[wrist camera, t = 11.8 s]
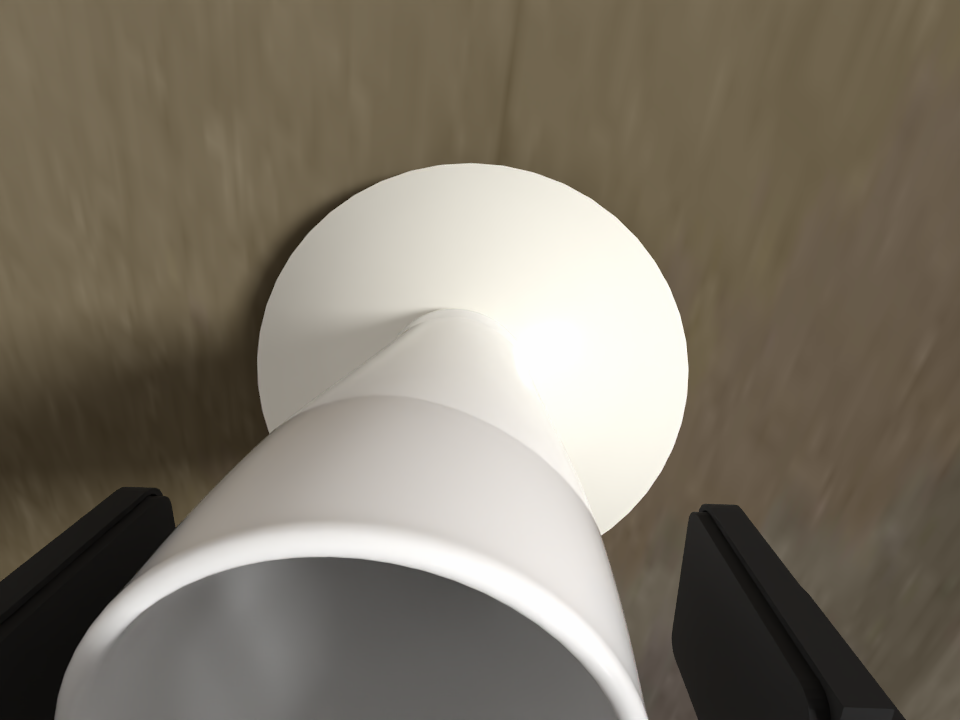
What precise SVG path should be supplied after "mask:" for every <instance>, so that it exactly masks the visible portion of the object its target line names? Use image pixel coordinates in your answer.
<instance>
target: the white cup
mask: <svg viewBox="0 0 960 720" xmlns="http://www.w3.org/2000/svg"><path fill="white" fill-rule="evenodd" d="M54 720H649V719H648V716H647V712H646V708H645V704H644V699H643V695H642V690H641V686H640V681H639V677H638V672H637V667H636V663H635V658H634V654H633V649H632V645H631V641H630V636H629V632H628V628H627V624H626V620H625V616H624V611H623V608H622V604H621V600H620V596H619V593H618V589H617V585H616V582H615V578H614V575H613V571H612V568H611V564H610V561H609V558H608V555H607V552H606V549H605V546H604V543H603V539H602V537H601V534H600V531H599V528H598V525H597V522H596V519H595V516H594V514H593V511H592V508H591V505H590V503H589V500H588V498H587V495H586V493H585V490H584V488H583V486H582V483H581V481H580V479H579V477H578V475H577V472H576V470H575V468H574V466H573V464H572V462H571V459H570V457H569V455H568V453H567V451H566V449H565V447H564V445H563V443H562V441H561V438H560V436H559V434H558V432H557V430H556V428H555V426H554V424H553V422H552V420H551V418H550V416H549V414H548V412H547V410H546V407H545V405H544V403H543V401H542V399H541V397H540V395H539V392H538V390H537V388H536V386H535V384H534V381H533V379H532V377H531V374H530V369H529V365H528V361H527V359H526V356H525V354H524V352H523V349H522V348H521V346H520V344H519V343H518V341H517V340H516V339H515V337H514V336H513V335H512V334H511V333H510V332H509V331H508V330H507V329H506V328H505V327H504V326H503V325H501V324H500V323H499V322H497V321H496V320H494V319H492V318H491V317H488V316H486V315H484V314H481V313H479V312H475V311H471V310H466V309H444V310H438V311H434V312H431V313H428V314H425V315H423V316H421V317H419V318H417V319H415V320H414V321H412V322H411V323H409V324H408V325H407V326H405V327H404V328H403V329H402V330H401V331H400V332H399V333H398V334H397V336H396V337H395V338H394V339H393V340H392V341H391V342H390V343H389V344H387V345H386V346H385V347H383V348H382V349H381V350H379V351H378V352H377V353H375V354H374V355H373V356H371V357H370V358H369V359H367V360H366V361H365V362H363V363H362V364H360V365H359V366H358V367H356V368H355V369H353V370H352V371H351V372H349V373H348V374H347V375H345V376H344V377H342V378H341V379H340V380H338V381H337V382H335V383H334V384H333V385H331V386H330V387H329V388H327V389H326V390H324V391H323V392H322V393H320V394H319V395H318V396H316V397H315V398H314V399H312V400H311V401H310V402H308V403H307V404H306V405H304V406H303V407H302V408H300V409H299V410H298V411H296V412H295V413H294V414H292V415H291V416H290V417H289V418H288V419H286V420H285V421H284V422H283V423H281V424H280V425H279V426H278V427H277V428H275V429H274V430H273V431H272V432H271V433H270V434H269V435H268V436H266V437H265V438H264V439H263V440H262V441H261V442H260V443H259V444H258V445H257V446H255V447H254V448H253V449H252V450H251V451H250V452H249V453H248V454H247V455H246V456H245V457H244V458H243V459H242V460H241V461H240V462H239V463H237V464H236V465H235V466H234V467H233V468H232V469H231V470H230V471H229V472H228V473H227V474H226V475H225V476H224V477H223V478H222V479H221V480H220V481H219V482H218V483H217V484H216V485H215V486H214V487H213V488H212V489H211V490H210V491H209V492H208V494H207V495H206V496H205V497H204V498H203V499H202V500H201V501H200V502H199V503H198V504H197V505H196V506H195V507H194V508H193V509H192V511H191V512H190V513H189V514H188V515H187V516H186V517H185V518H184V519H183V521H182V522H181V523H180V524H179V525H178V526H177V527H176V528H175V529H174V531H173V532H172V533H171V534H170V535H169V536H168V537H167V539H166V540H165V541H164V542H163V543H162V544H161V545H160V547H159V548H158V549H157V550H156V551H155V552H154V553H153V555H152V556H151V557H150V558H149V559H148V560H147V562H146V563H145V564H144V565H143V566H142V567H141V569H140V570H139V571H138V572H137V573H136V574H135V576H134V577H133V578H132V579H131V580H130V581H129V582H128V584H127V585H126V586H125V587H124V588H123V589H122V590H121V591H120V592H119V593H118V595H117V596H116V597H115V598H113V599H112V600H111V601H110V603H109V604H108V605H107V606H106V607H105V608H104V610H103V611H102V612H101V613H100V614H99V616H98V617H97V618H96V619H95V620H94V621H93V623H92V624H91V626H90V627H89V629H88V630H87V632H86V633H85V635H84V636H83V638H82V640H81V641H80V643H79V644H78V646H77V648H76V650H75V652H74V654H73V656H72V658H71V660H70V662H69V664H68V667H67V669H66V671H65V674H64V677H63V681H62V684H61V687H60V690H59V693H58V698H57V704H56V710H55V716H54Z"/></svg>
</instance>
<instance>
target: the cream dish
mask: <svg viewBox="0 0 960 720" xmlns="http://www.w3.org/2000/svg"><path fill="white" fill-rule="evenodd" d="M444 309H466V310H471V311H475V312H479V313H481V314H484V315H486V316H488V317H491V318H492V319H494V320H496V321H497V322H499V323H500V324H501V325H503V326H504V327H505V328H506V329H507V330H508V331H509V332H510V333H511V334H512V335H513V336H514V337H515V339H516V340H517V341H518V343H519V344H520V346H521V348H522V349H523V352H524V354H525V356H526V359H527V361H528V365H529V369H530V374H531V377H532V379H533V381H534V384H535V386H536V388H537V390H538V392H539V395H540V397H541V399H542V401H543V403H544V405H545V407H546V410H547V412H548V414H549V416H550V418H551V420H552V422H553V424H554V426H555V428H556V430H557V432H558V434H559V436H560V438H561V441H562V443H563V445H564V447H565V449H566V451H567V453H568V455H569V457H570V459H571V462H572V464H573V466H574V468H575V470H576V472H577V475H578V477H579V479H580V481H581V483H582V486H583V488H584V490H585V493H586V495H587V498H588V500H589V503H590V505H591V508H592V511H593V514H594V516H595V519H596V522H597V525H598V528H599V531H600V534H601V535H602V534H604V533H605V532H607V531H608V530H610V529H611V528H612V527H613V526H614V525H615V524H617V523H618V522H619V521H620V520H621V519H622V518H623V517H625V516H626V515H627V514H628V513H629V512H630V511H631V510H632V509H633V508H634V507H635V505H636V504H637V503H638V502H639V501H640V500H641V499H642V498H643V496H644V495H645V494H646V493H647V492H648V490H649V489H650V487H651V486H652V484H653V483H654V481H655V480H656V478H657V477H658V475H659V474H660V472H661V471H662V469H663V467H664V465H665V463H666V461H667V459H668V457H669V455H670V453H671V451H672V449H673V447H674V444H675V441H676V438H677V435H678V432H679V429H680V426H681V423H682V419H683V414H684V408H685V403H686V398H687V385H688V359H687V347H686V339H685V335H684V331H683V326H682V322H681V318H680V314H679V311H678V308H677V306H676V303H675V301H674V298H673V295H672V293H671V290H670V288H669V286H668V284H667V282H666V280H665V279H664V277H663V275H662V273H661V272H660V270H659V268H658V266H657V264H656V263H655V261H654V260H653V258H652V257H651V256H650V255H649V253H648V252H647V251H646V249H645V248H644V247H643V245H642V244H641V243H640V241H639V240H638V239H637V238H636V237H635V236H634V235H633V234H632V233H631V232H630V231H629V230H628V229H627V228H626V227H625V226H624V225H623V224H622V223H621V222H620V221H619V220H618V219H617V218H616V217H615V216H614V215H612V214H611V213H610V212H608V211H607V210H605V209H604V208H603V207H601V206H600V205H599V204H597V203H596V202H595V201H593V200H592V199H591V198H589V197H587V196H585V195H583V194H581V193H580V192H578V191H576V190H574V189H572V188H570V187H569V186H567V185H565V184H563V183H560V182H558V181H555V180H552V179H550V178H547V177H544V176H542V175H539V174H536V173H533V172H529V171H524V170H520V169H515V168H511V167H507V166H500V165H488V164H476V163H467V164H449V165H438V166H433V167H428V168H423V169H418V170H413V171H409V172H406V173H403V174H400V175H398V176H395V177H392V178H389V179H386V180H383V181H381V182H379V183H377V184H375V185H373V186H371V187H369V188H367V189H365V190H363V191H361V192H359V193H357V194H355V195H354V196H352V197H351V198H350V199H348V200H347V201H345V202H344V203H343V204H341V205H340V206H338V207H337V208H335V209H334V210H333V211H331V212H330V213H329V214H328V215H327V216H326V217H325V218H324V219H323V220H321V221H320V222H319V223H318V224H317V225H316V226H315V227H314V228H313V229H312V230H311V231H310V232H309V233H308V234H307V236H306V237H305V238H304V239H303V241H302V242H301V243H300V244H299V246H298V247H297V248H296V249H295V251H294V252H293V253H292V255H291V256H290V258H289V259H288V261H287V263H286V265H285V266H284V268H283V270H282V272H281V273H280V275H279V277H278V278H277V280H276V283H275V285H274V288H273V290H272V293H271V295H270V298H269V300H268V303H267V305H266V309H265V313H264V317H263V321H262V325H261V329H260V336H259V345H258V355H257V369H258V388H259V394H260V400H261V406H262V411H263V415H264V418H265V421H266V424H267V428H268V431H269V434H270V433H271V432H272V431H273V430H274V429H275V428H277V427H278V426H279V425H280V424H281V423H283V422H284V421H285V420H286V419H288V418H289V417H290V416H291V415H292V414H294V413H295V412H296V411H298V410H299V409H300V408H302V407H303V406H304V405H306V404H307V403H308V402H310V401H311V400H312V399H314V398H315V397H316V396H318V395H319V394H320V393H322V392H323V391H324V390H326V389H327V388H329V387H330V386H331V385H333V384H334V383H335V382H337V381H338V380H340V379H341V378H342V377H344V376H345V375H347V374H348V373H349V372H351V371H352V370H353V369H355V368H356V367H358V366H359V365H360V364H362V363H363V362H365V361H366V360H367V359H369V358H370V357H371V356H373V355H374V354H375V353H377V352H378V351H379V350H381V349H382V348H383V347H385V346H386V345H387V344H389V343H390V342H391V341H392V340H393V339H394V338H395V337H396V336H397V334H398V333H399V332H400V331H401V330H402V329H403V328H404V327H405V326H407V325H408V324H409V323H411V322H412V321H414V320H415V319H417V318H419V317H421V316H423V315H425V314H428V313H431V312H434V311H438V310H444Z"/></svg>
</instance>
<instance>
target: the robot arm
mask: <svg viewBox="0 0 960 720" xmlns="http://www.w3.org/2000/svg"><path fill="white" fill-rule="evenodd" d="M174 529H175V523H174V517H173V511H172V505H171V502H170V500H169V498H168V497H166V496H163V494H162V493H161V491H160V490H159V489H157V488H144V487H122V488H120V489H118V490H116V491H115V492H114V493H113V494H111V495H110V496H109V497H108V498H106V499H105V500H104V501H102V502H101V503H100V504H99V505H97V506H96V507H95V508H94V509H92V510H91V511H90V512H88V513H87V514H86V515H85V516H83V517H82V518H81V519H80V520H78V521H77V522H76V523H74V524H73V525H72V526H71V527H69V528H68V529H67V530H66V531H64V532H63V533H62V534H60V535H59V536H58V537H57V538H55V539H54V540H53V541H52V542H50V543H49V544H48V545H47V546H45V547H44V548H43V549H41V550H40V551H39V552H38V553H36V554H35V555H34V556H33V557H31V558H30V559H29V560H27V561H26V562H25V563H24V564H22V565H21V566H20V567H19V568H17V569H16V570H15V571H13V572H12V573H11V574H10V575H8V576H7V577H6V578H5V579H3V580H2V581H1V582H0V720H54V716H55V710H56V704H57V698H58V693H59V690H60V687H61V684H62V681H63V677H64V674H65V671H66V669H67V667H68V664H69V662H70V660H71V658H72V656H73V654H74V652H75V650H76V648H77V646H78V644H79V643H80V641H81V640H82V638H83V636H84V635H85V633H86V632H87V630H88V629H89V627H90V626H91V624H92V623H93V621H94V620H95V619H96V618H97V617H98V616H99V614H100V613H101V612H102V611H103V610H104V608H105V607H106V606H107V605H108V604H109V603H110V601H111V600H112V599H113V598H115V597H116V596H117V595H118V593H119V592H120V591H121V590H122V589H123V588H124V587H125V586H126V585H127V584H128V582H129V581H130V580H131V579H132V578H133V577H134V576H135V574H136V573H137V572H138V571H139V570H140V569H141V567H142V566H143V565H144V564H145V563H146V562H147V560H148V559H149V558H150V557H151V556H152V555H153V553H154V552H155V551H156V550H157V549H158V548H159V547H160V545H161V544H162V543H163V542H164V541H165V540H166V539H167V537H168V536H169V535H170V534H171V533H172V532H173V531H174ZM672 647H673V653H674V657H675V660H676V662H677V665H678V668H679V670H680V673H681V675H682V678H683V681H684V683H685V686H686V689H687V691H688V694H689V696H690V699H691V702H692V704H693V707H694V710H695V712H696V715H697V718H698V720H906V719H905V718H904V717H903V716H902V714H901V713H900V712H899V710H898V709H897V708H896V707H895V705H894V704H893V703H892V701H891V700H890V699H889V697H888V696H887V695H886V694H885V692H884V691H883V690H882V688H881V687H880V686H879V685H878V683H877V682H876V681H875V679H874V678H873V677H872V675H871V674H870V673H869V672H868V670H867V669H866V668H865V666H864V665H863V664H862V662H861V661H860V660H859V659H858V657H857V656H856V655H855V653H854V652H853V651H852V650H851V648H850V647H849V646H848V644H847V643H846V642H845V640H844V639H843V638H842V637H841V635H840V634H839V633H838V631H837V630H836V629H835V628H834V626H833V625H832V624H831V622H830V621H829V620H828V618H827V617H826V616H825V615H824V613H823V612H822V611H821V609H820V608H819V607H818V606H817V604H816V603H815V602H814V600H813V599H812V598H811V596H810V595H809V594H808V593H807V592H806V591H805V590H804V589H803V588H802V587H801V586H800V585H799V583H798V582H797V581H796V580H795V578H794V577H793V576H792V574H791V573H790V572H789V570H788V569H787V568H786V567H785V565H784V564H783V563H782V561H781V560H780V559H779V557H778V556H777V555H776V553H775V552H774V551H773V550H772V548H771V547H770V546H769V544H768V543H767V542H766V540H765V539H764V538H763V537H762V535H761V534H760V533H759V531H758V530H757V529H756V527H755V526H754V525H753V523H752V522H751V521H750V520H749V518H748V517H747V516H746V514H745V513H744V512H743V510H742V509H741V508H740V507H739V506H738V505H723V504H703V505H702V506H701V508H700V509H699V512H692V513H691V514H690V516H689V521H688V527H687V534H686V541H685V548H684V555H683V562H682V569H681V575H680V582H679V589H678V596H677V603H676V610H675V616H674V623H673V630H672Z"/></svg>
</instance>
